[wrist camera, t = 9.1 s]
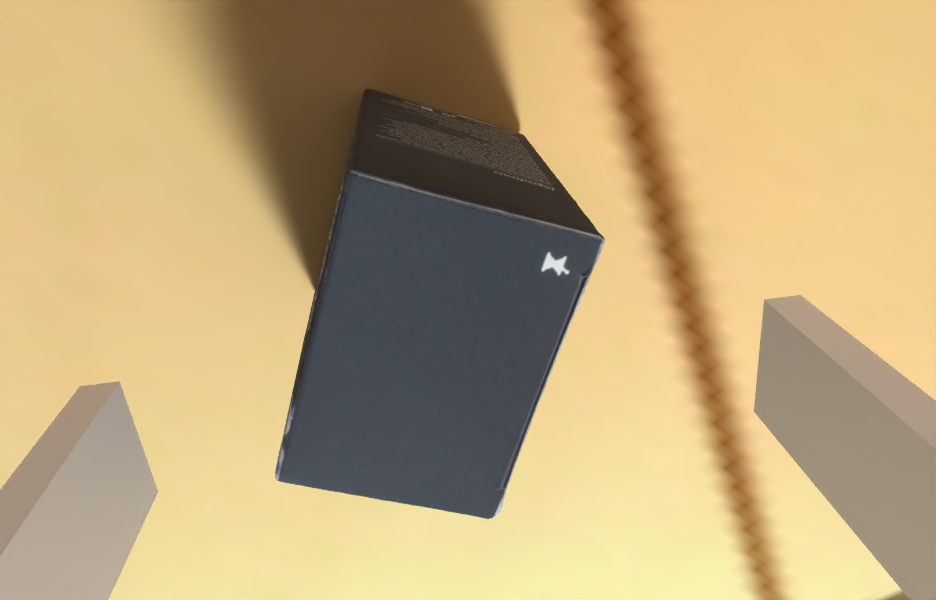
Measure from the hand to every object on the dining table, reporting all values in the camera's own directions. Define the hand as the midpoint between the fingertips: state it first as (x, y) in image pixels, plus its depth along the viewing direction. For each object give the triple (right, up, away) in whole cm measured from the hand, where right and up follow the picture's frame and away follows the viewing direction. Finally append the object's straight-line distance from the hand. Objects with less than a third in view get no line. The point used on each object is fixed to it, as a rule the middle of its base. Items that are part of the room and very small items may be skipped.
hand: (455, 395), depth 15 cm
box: (-2, +5, +10) cm, 12 cm away
